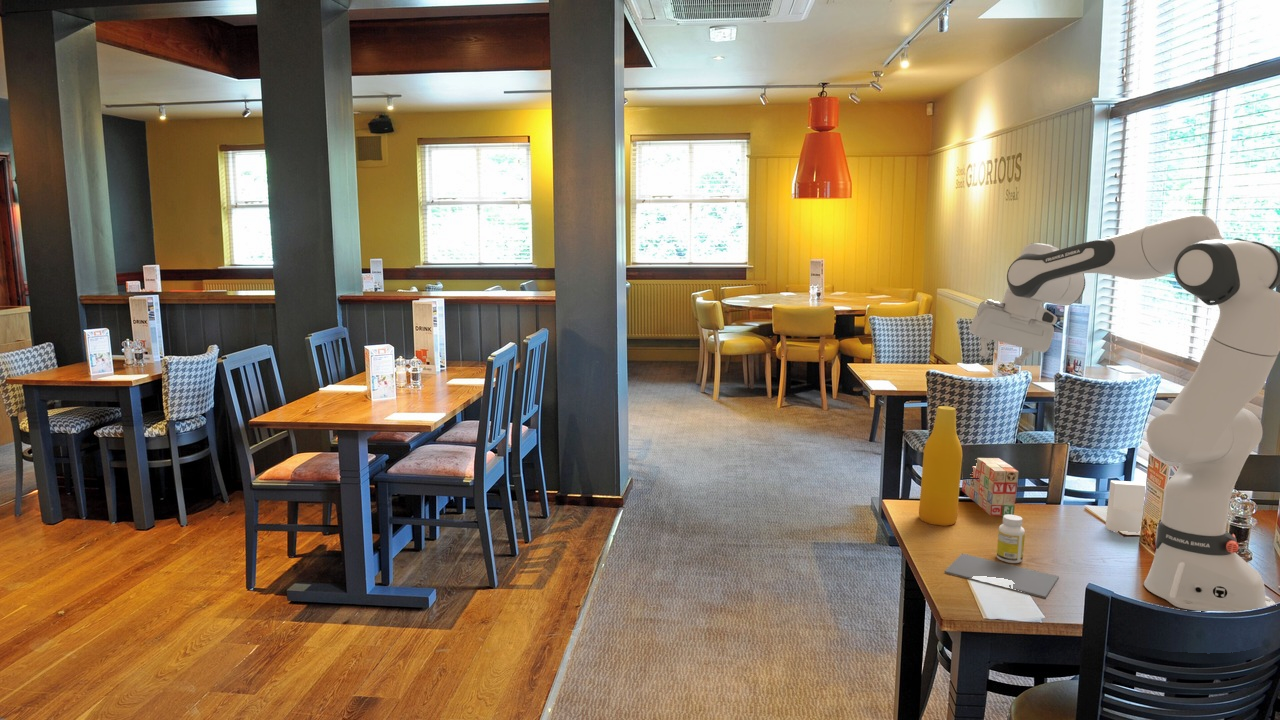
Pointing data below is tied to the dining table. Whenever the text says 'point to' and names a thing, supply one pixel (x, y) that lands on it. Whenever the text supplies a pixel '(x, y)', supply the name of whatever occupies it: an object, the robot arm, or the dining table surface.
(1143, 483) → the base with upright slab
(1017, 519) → the supplement bottle
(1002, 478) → the stack of blocks
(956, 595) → the dining table surface
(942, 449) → the yellow bottle
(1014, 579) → the charcoal mat
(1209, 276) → the robot arm
